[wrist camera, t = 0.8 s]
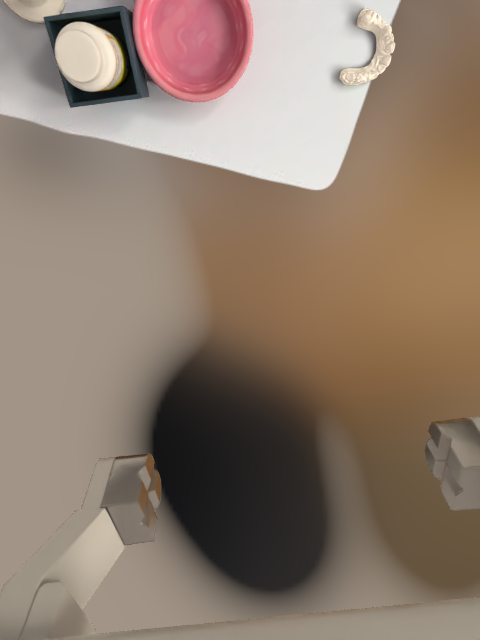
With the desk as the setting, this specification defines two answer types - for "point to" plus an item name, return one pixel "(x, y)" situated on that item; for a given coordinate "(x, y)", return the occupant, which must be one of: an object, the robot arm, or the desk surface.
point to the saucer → (193, 45)
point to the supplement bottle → (91, 57)
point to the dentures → (381, 57)
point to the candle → (36, 8)
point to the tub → (121, 26)
